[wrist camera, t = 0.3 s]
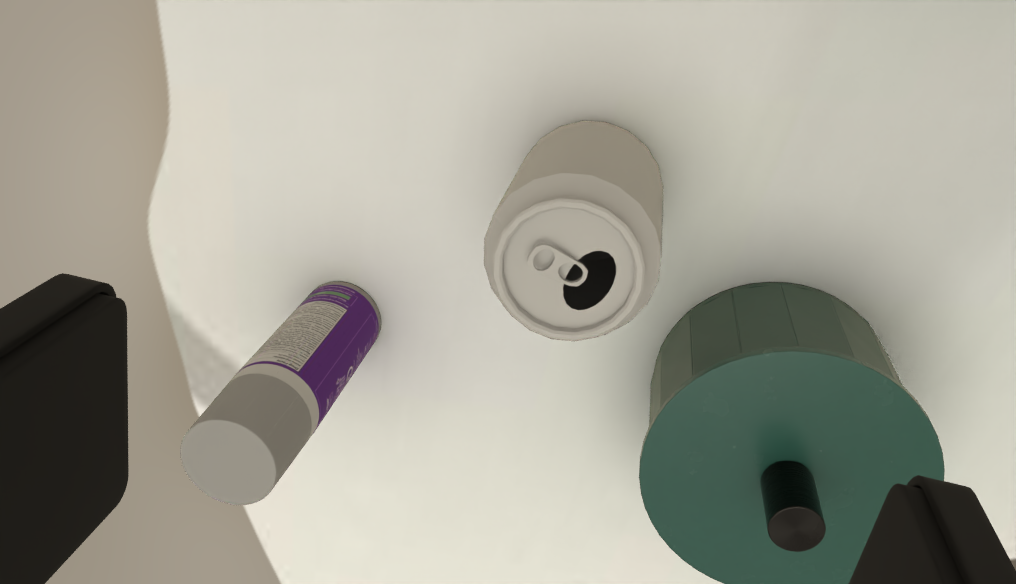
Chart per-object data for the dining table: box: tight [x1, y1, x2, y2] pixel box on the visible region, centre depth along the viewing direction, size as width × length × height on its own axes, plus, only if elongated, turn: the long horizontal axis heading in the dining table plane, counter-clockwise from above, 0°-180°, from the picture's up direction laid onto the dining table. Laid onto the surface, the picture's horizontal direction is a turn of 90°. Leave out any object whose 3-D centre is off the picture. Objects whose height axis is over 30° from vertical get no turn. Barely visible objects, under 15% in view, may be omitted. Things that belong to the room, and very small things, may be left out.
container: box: [180, 282, 381, 505], centre depth 45 cm, size 5×5×15 cm
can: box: [484, 121, 663, 341], centre depth 41 cm, size 8×8×12 cm
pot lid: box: [639, 347, 944, 584], centre depth 40 cm, size 14×14×5 cm
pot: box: [649, 282, 902, 426], centre depth 46 cm, size 13×13×8 cm
